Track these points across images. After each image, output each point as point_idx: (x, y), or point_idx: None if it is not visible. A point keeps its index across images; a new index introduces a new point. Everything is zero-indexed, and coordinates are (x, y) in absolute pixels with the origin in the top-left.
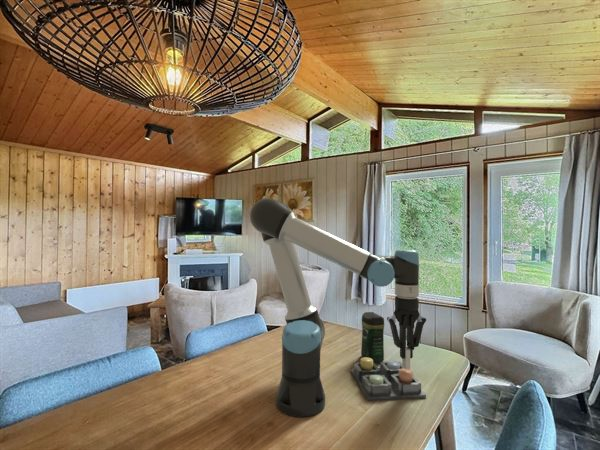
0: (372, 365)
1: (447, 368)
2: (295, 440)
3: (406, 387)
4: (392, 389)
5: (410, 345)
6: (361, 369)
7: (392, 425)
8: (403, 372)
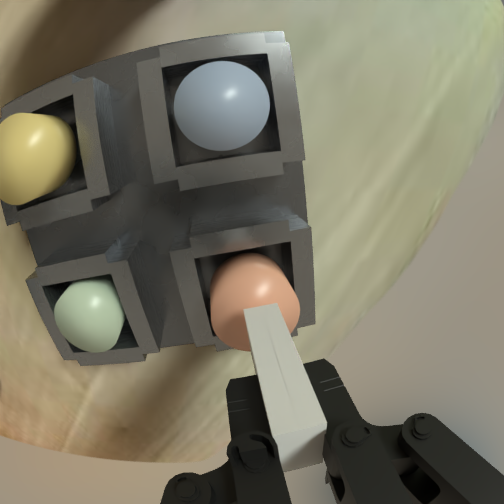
0: (58, 176)
1: (475, 69)
2: (11, 435)
3: None
4: (173, 297)
5: (338, 489)
6: None
7: (158, 432)
8: (236, 332)
